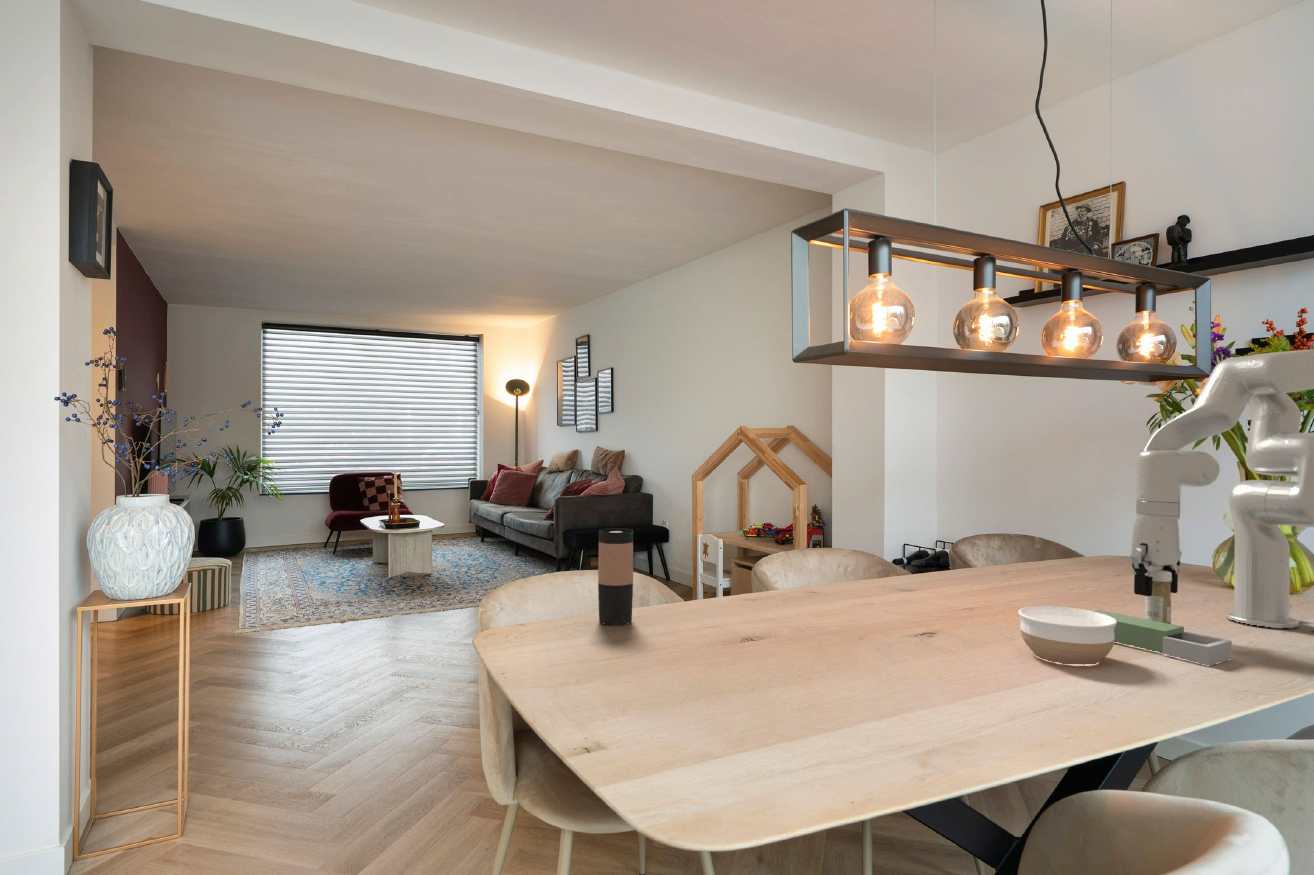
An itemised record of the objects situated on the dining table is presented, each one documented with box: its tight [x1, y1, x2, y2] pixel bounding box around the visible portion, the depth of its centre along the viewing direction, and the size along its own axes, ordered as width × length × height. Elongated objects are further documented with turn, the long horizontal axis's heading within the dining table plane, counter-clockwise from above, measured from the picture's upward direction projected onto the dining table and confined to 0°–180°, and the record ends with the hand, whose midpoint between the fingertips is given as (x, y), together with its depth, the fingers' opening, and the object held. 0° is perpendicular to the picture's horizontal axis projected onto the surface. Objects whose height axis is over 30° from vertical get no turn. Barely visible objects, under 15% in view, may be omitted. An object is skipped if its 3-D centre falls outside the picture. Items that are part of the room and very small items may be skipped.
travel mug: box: [597, 528, 634, 626], centre depth 162 cm, size 8×8×20 cm
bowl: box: [1017, 605, 1117, 665], centre depth 137 cm, size 16×16×8 cm
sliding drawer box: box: [1092, 609, 1233, 666], centre depth 144 cm, size 8×24×4 cm, turn 30°
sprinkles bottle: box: [1145, 569, 1172, 624], centre depth 153 cm, size 5×5×14 cm
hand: (1155, 593), depth 152 cm, fingers open, 9 cm apart
